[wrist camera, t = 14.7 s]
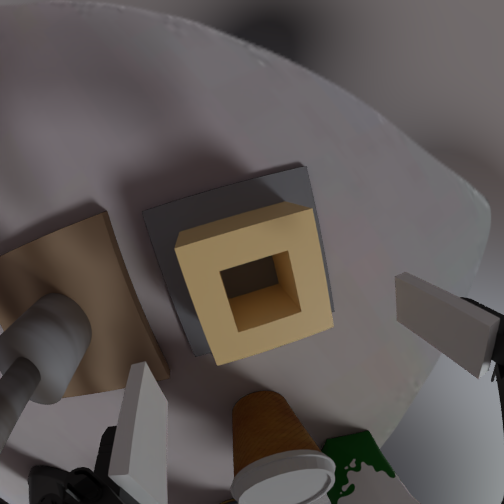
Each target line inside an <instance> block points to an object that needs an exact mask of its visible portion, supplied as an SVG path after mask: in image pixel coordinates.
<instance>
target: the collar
mask: <svg viewBox="0 0 504 504" xmlns="http://www.w3.org/2000/svg"><path fill="white" fill-rule="evenodd" d="M174 249H175V252H176V255H177V258H178V261H179V264H180V267H181V270H182V273H183V276H184V279H185V282H186V285H187V287H188V290H189V293H190V296H191V299H192V301H193V304H194V307H195V310H196V312H197V315H198V318H199V320H200V323H201V326H202V328H203V331H204V334H205V336H206V339H207V341H208V344H209V346H210V349H211V351H212V354H213V356H214V359H215V361H216V364H217V366H219V365H222V364H226V363H229V362H233V361H236V360H239V359H243V358H246V357H249V356H252V355H255V354H259V353H262V352H265V351H268V350H271V349H274V348H277V347H280V346H283V345H286V344H289V343H291V342H294V341H297V340H300V339H303V338H305V337H308V336H311V335H314V334H316V333H319V332H321V331H324V330H327V329H329V328H332V327H334V326H333V319H332V312H331V306H330V299H329V293H328V287H327V281H326V276H325V270H324V264H323V259H322V254H321V248H320V243H319V238H318V233H317V228H316V223H315V218H314V213H313V209H312V208H309V207H305V206H302V205H298V204H294V203H290V202H286V201H285V202H281V203H277V204H274V205H270V206H266V207H263V208H259V209H256V210H252V211H248V212H245V213H241V214H238V215H234V216H231V217H228V218H224V219H221V220H217V221H214V222H210V223H207V224H204V225H200V226H197V227H194V228H190V229H187V230H184V231H181V232H179V235H178V238H177V241H176V245H175V248H174ZM271 255H272V257H273V261H274V266H275V270H276V274H277V278H278V282H279V284H276V285H273V286H269V287H266V288H263V289H260V290H257V291H254V292H250V293H247V294H244V295H241V296H237V297H234V298H231V299H228V296H227V293H226V290H225V287H224V283H223V280H222V277H221V274H220V271H222V270H225V269H228V268H232V267H235V266H238V265H241V264H245V263H248V262H251V261H255V260H258V259H261V258H264V257H268V256H271Z"/></svg>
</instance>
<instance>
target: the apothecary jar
mask: <svg viewBox="0 0 504 504" xmlns="http://www.w3.org/2000/svg"><path fill="white" fill-rule="evenodd" d="M220 504H238V502H237V501H236V500H235V499H230V500H227V501H224V502H222V503H220Z"/></svg>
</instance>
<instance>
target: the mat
mask: <svg viewBox="0 0 504 504" xmlns="http://www.w3.org/2000/svg"><path fill="white" fill-rule="evenodd" d="M285 201H286V202H290V203H294V204H298V205H302V206H305V207H309V208H312V209H313V213H314V218H315V223H316V228H317V233H318V238H319V243H320V248H321V254H322V259H323V264H324V270H325V276H326V281H327V287H328V293H329V299H330V306H331V312H334V305H333V299H332V292H331V286H330V280H329V274H328V268H327V263H326V257H325V252H324V246H323V241H322V236H321V231H320V226H319V221H318V216H317V211H316V206H315V202H314V197H313V193H312V188H311V184H310V179H309V175H308V171H307V166H303V167H299V168H294V169H290V170H286V171H282V172H278V173H273V174H269V175H265V176H261V177H257V178H254V179H250V180H246V181H242V182H238V183H235V184H231V185H227V186H224V187H220V188H217V189H213V190H210V191H206V192H203V193H199V194H196V195H193V196H189V197H186V198H183V199H179V200H176V201H173V202H170V203H167V204H163V205H160V206H157V207H154V208H151V209H148V210H145V211H142V214H143V217H144V220H145V223H146V227H147V230H148V233H149V236H150V239H151V242H152V245H153V248H154V251H155V254H156V257H157V260H158V263H159V266H160V269H161V271H162V274H163V277H164V280H165V282H166V285H167V288H168V291H169V293H170V296H171V299H172V301H173V304H174V306H175V309H176V311H177V314H178V317H179V319H180V322H181V324H182V327H183V329H184V331H185V334H186V336H187V339H188V341H189V343H190V346H191V348H192V350H193V353H194V355H195V357H197V356H201V355H204V354H208V353H211V352H212V351H211V349H210V346H209V344H208V341H207V339H206V336H205V334H204V331H203V328H202V326H201V323H200V320H199V318H198V315H197V312H196V310H195V307H194V304H193V301H192V299H191V296H190V293H189V290H188V287H187V285H186V282H185V279H184V276H183V273H182V270H181V267H180V264H179V261H178V258H177V255H176V252H175V249H174V248H175V245H176V241H177V238H178V235H179V232H181V231H184V230H187V229H190V228H194V227H197V226H200V225H204V224H207V223H210V222H214V221H217V220H221V219H224V218H228V217H231V216H234V215H238V214H241V213H245V212H248V211H252V210H256V209H259V208H263V207H266V206H270V205H274V204H277V203H281V202H285ZM220 274H221V277H222V280H223V283H224V287H225V290H226V293H227V296H228V299H231V298H234V297H237V296H241V295H244V294H247V293H250V292H254V291H257V290H260V289H263V288H266V287H269V286H273V285H276V284H279V282H278V278H277V274H276V270H275V266H274V261H273V257H272V255H271V256H268V257H264V258H261V259H258V260H255V261H251V262H248V263H245V264H241V265H238V266H235V267H232V268H228V269H225V270H222V271H220Z"/></svg>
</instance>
